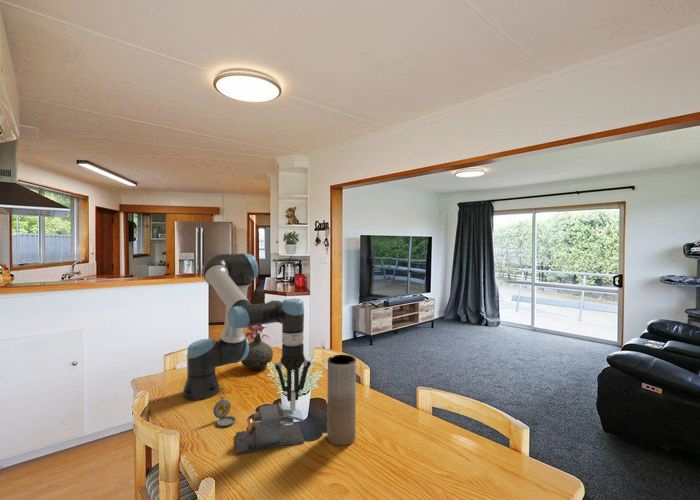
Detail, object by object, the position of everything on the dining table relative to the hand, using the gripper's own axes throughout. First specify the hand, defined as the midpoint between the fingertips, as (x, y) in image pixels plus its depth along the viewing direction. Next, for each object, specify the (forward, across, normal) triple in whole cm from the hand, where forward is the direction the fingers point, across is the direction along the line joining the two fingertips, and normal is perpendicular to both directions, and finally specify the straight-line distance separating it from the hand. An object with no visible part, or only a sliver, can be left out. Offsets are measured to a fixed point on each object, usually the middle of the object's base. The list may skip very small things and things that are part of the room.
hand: (292, 409), depth 120 cm
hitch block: (+9, -9, 0) cm, 13 cm away
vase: (+9, -8, +72) cm, 73 cm away
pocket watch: (+9, -23, +17) cm, 30 cm away
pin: (+6, -8, 0) cm, 10 cm away
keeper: (-1, -4, 0) cm, 4 cm away
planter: (+9, +16, -7) cm, 20 cm away
